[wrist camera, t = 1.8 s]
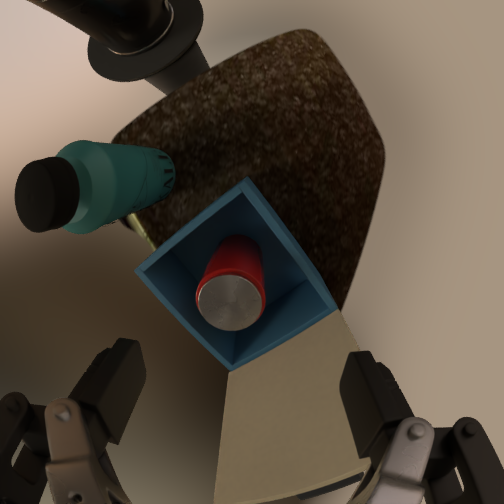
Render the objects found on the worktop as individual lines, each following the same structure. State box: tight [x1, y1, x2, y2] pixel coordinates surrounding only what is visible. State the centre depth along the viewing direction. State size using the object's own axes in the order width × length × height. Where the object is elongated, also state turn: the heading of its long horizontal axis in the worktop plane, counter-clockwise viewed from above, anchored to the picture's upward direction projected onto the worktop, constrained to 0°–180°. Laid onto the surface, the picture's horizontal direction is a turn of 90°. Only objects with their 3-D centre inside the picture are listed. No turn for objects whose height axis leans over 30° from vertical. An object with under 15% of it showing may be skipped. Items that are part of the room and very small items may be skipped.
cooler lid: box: [214, 309, 371, 504], centre depth 18 cm, size 15×13×6 cm
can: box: [196, 234, 266, 331], centre depth 26 cm, size 6×6×11 cm
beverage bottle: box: [15, 140, 176, 234], centre depth 20 cm, size 6×7×20 cm
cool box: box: [134, 176, 338, 371], centre depth 28 cm, size 14×13×9 cm
